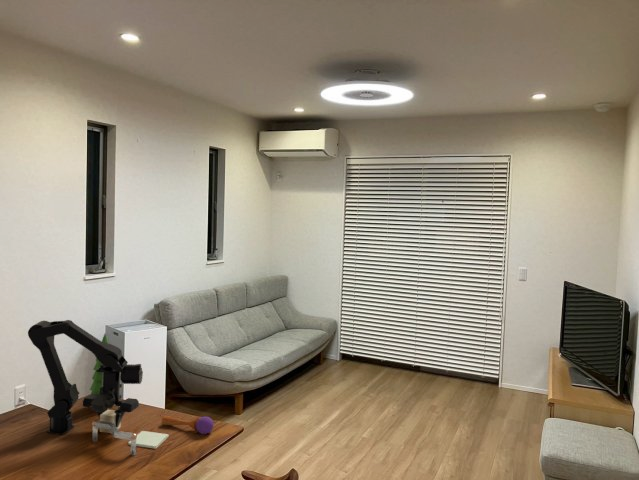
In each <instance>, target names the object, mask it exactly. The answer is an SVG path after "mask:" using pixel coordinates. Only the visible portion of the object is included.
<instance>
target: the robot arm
mask: <svg viewBox="0 0 639 480" xmlns="http://www.w3.org/2000/svg"><path fill="white" fill-rule="evenodd" d="M63 334H64V335H65V336H67V337H68V338H69V339H71V340H73V341H75V342H76V343H78V344H79V345H80V346H82V347H83V348H85V349H87V350H88V351H90V352H91V353H92V354H93V355H94V357H95V358H97V360H99V361H100V362H101V363H102V365H101V366H100V367H99V368H98V369H97V370H96V372H103V378H102V387H101V388H100V392H99V394H91V393H90V394H89V395H88V396H85V397H84V398H83V400H82V407H83V408H90V409H91V411H93V412H95V413H96V414H97V416H98V419H99V420H100V415H101V414H102V413H104V412H105V411H107V410H108V409H112V408H113V407H117V408H116V411H114V412H115V414H116V427H118V426H119V424H120V422H121V421H122V420H123V418H124V416H125V413H131V412H133V411H135V410H136V409H137V408H139V405H140V404H139V400H138V399H137V398H132V397H130V398H129V397H128V398H126V399H125V400H121V399H122V394H120V393H121V392H120V388H122V385H123V384H124V385H141V383H142V382H143V376H144V375H143V373H144V372H143V371H144V370H143V368H142V364H141V363H137V364H128V361H127V359H126V358H125V357H124V355H123V353H122V349H121V348H119V347H118V346H116V345H114V344H112V343H109V342H108V343H109V344H108V343H104V342H102V340H100V339H99V338H97V337H96V336H94V335H92V334H91V333H89V332H88V331H86V330H85V329H83V328H81V327H80V326H79V325H77V324H75V323H74V322H73V321H72V320H71V319H66V320H54V321H48V320H40V321H38V322H36V323H35V324H33V325H31V326H30V328H29V329H28V331H27V336H28V338H29V340H30V341H31V344H32V345H34V347H36V348H37V349H38V351H39V352H40V355H41V357H42V358H41V359H42V360H43V363H44V365H45V367H46V368H45V369H46V371H47V373H48V376H49V378H50V381H51V385H52V387H53V403H54V405H53V406H52V407H51V408H50V409H49V410H48V411H47V413H46V414H47V416H48V418H49V429H46V433H48V434H56V435H64V434H65V433H67V432H69V431H70V430H72V429H73V428H75V425H74V424H73V416H72V411H70V410H71V409H72V408H73V407H74V406H75V404H76V403H77V402H78V400H79V395H80V391H79V390H78V387H77V384H76V383H72V384H71V383H70V382H69V380H68V378H67V376H66V373H65V370H64V368H63V366H62V362H61V360H60V358H59V357H60V356H59V354H58V352H57V349H56V346H55V336H59V335H63ZM120 382H121V383H120ZM107 408H108V409H107Z"/></svg>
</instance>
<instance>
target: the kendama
mask: <svg viewBox="0 0 639 480" xmlns="http://www.w3.org/2000/svg"><path fill="white" fill-rule="evenodd" d="M161 425H162V426H189V427H190V428H191V429H192V430H194V431H197V433H200V435H207V433H208V434H209V433H211V432H212V431H213V428H214V421H213V419H212V418H211V417H209V416H202V417H200V418H199V417H197V418H195V419H192V420H189V421H186V420H183V419H180V418H174V417H172V416H169V415H163V417H162V418H161Z"/></svg>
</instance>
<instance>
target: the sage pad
mask: <svg viewBox="0 0 639 480" xmlns="http://www.w3.org/2000/svg"><path fill="white" fill-rule="evenodd" d="M136 435H137V438H136V447H140V448H141V447H142V448H148V449H149V448H150V449H154V450H155V449H156V450H157V448H158V447H159V446H161V444H163V443H164V441H165V440H167V439H168V438H169V434H167V433H160V432H155V431H154V432H153V431H147V430H146V431H145V430H141V431H140V432H138V433H137V434H136ZM127 443H128V445H127V446H131V440H128V442H127Z"/></svg>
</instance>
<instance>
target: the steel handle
mask: <svg viewBox="0 0 639 480" xmlns="http://www.w3.org/2000/svg"><path fill="white" fill-rule="evenodd" d="M91 426H92V433H91V434H92V438H91V440H92V441H91V442H92V443H95V442H98V434H99V433H98V430H99V429H100V428H105V429H109V430H110V431H111V433H110V434H111V435H112V436H113V438H115V439H122V440H128V441H131V445H130V456H132V457H134V456H136V455H137V446H136V438H137V435H138V434H137V433H135V432H129V431H128V432H127V431H121V430H119V429H117V427H116V425H115V424H114V423H112V422H105V421H100V420H94V421H92V423H91Z"/></svg>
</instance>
